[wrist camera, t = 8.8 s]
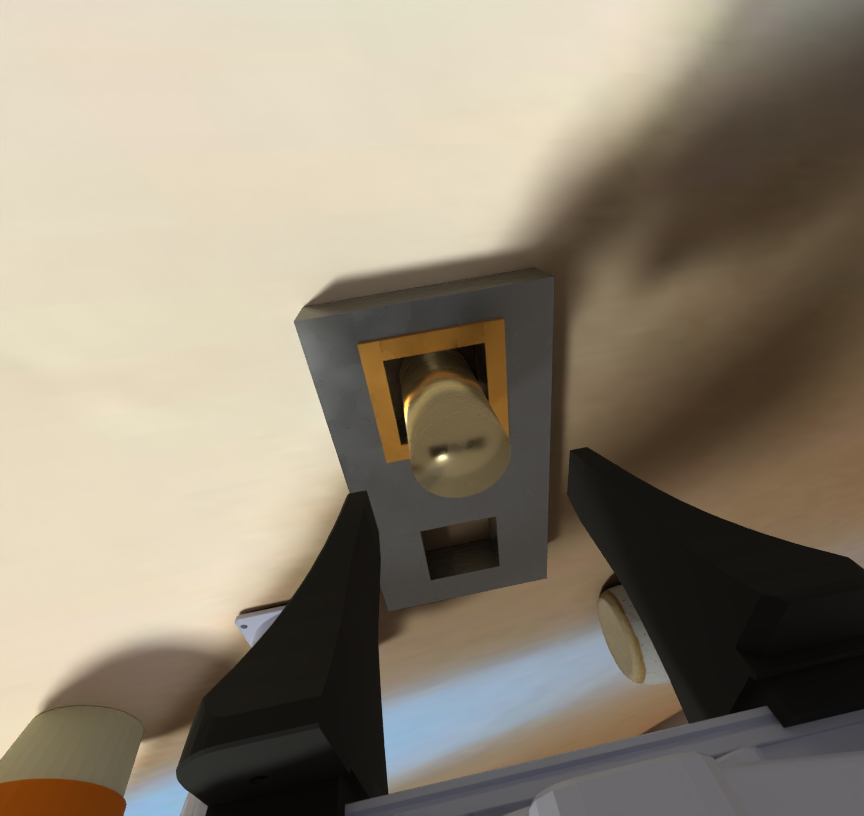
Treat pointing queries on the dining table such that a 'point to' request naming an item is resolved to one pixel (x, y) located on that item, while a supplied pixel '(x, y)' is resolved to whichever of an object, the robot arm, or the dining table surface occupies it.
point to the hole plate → (387, 436)
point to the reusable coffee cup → (70, 763)
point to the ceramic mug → (629, 638)
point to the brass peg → (450, 426)
